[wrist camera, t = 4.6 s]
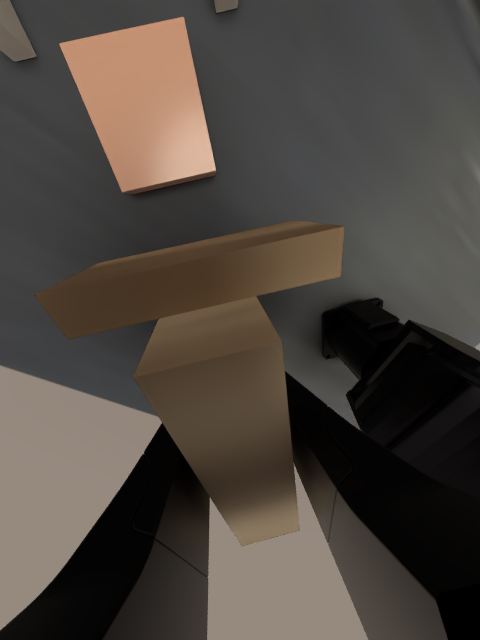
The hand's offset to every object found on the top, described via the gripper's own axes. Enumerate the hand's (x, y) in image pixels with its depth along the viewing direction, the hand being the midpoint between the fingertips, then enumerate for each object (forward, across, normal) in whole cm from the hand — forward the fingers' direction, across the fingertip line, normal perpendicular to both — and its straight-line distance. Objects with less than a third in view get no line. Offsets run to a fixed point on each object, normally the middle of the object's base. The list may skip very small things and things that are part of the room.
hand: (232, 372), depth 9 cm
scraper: (+1, 0, +1) cm, 1 cm away
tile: (+12, +1, -11) cm, 16 cm away
